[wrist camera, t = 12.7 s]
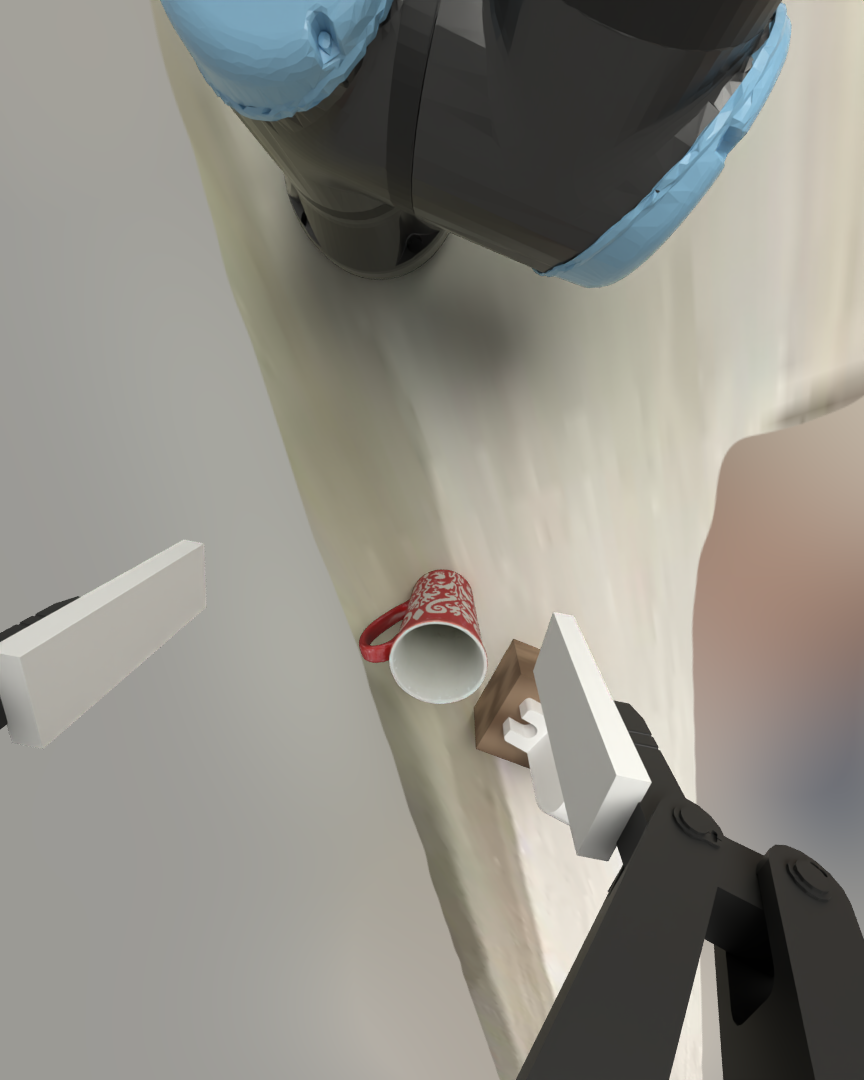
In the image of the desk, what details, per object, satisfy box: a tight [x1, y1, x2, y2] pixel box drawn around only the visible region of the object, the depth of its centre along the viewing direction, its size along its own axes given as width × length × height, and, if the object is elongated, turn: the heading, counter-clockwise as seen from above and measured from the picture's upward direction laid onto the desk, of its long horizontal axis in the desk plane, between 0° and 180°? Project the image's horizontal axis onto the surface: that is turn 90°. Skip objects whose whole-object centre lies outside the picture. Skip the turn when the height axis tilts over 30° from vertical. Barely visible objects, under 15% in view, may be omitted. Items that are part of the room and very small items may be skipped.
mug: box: [359, 570, 488, 704], centre depth 43 cm, size 13×9×14 cm
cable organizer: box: [503, 698, 570, 826], centre depth 42 cm, size 5×10×10 cm, turn 58°
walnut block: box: [474, 639, 541, 769], centre depth 50 cm, size 12×12×7 cm
